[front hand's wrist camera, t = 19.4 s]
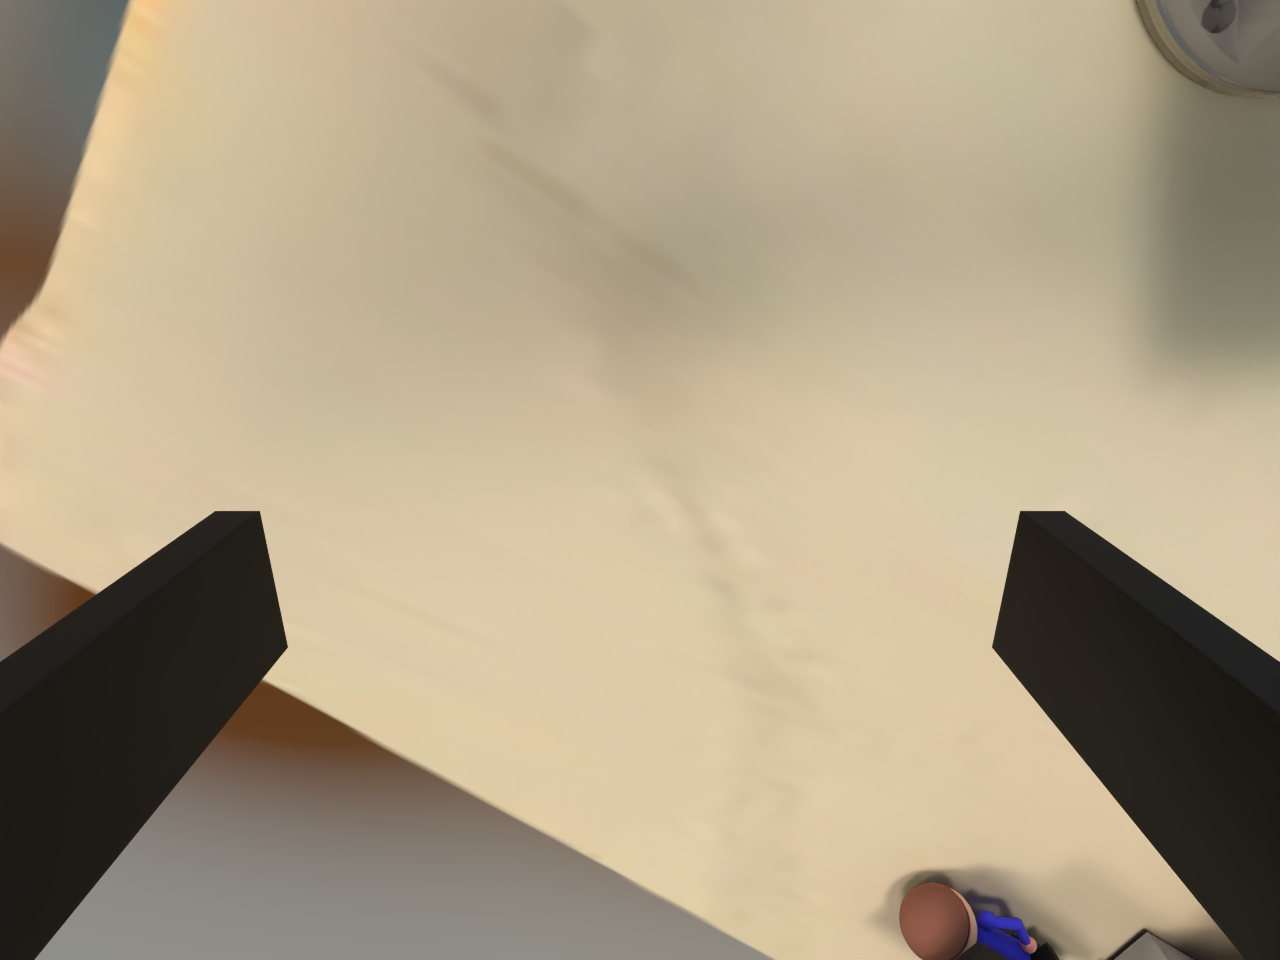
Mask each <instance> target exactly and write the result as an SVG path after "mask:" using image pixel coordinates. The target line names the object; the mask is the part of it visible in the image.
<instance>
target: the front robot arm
mask: <svg viewBox="0 0 1280 960" xmlns="http://www.w3.org/2000/svg"><path fill="white" fill-rule="evenodd" d="M1136 1H1137V5H1138V8H1139V11H1140V13H1141V16H1142V19H1143V21H1144V24H1145V26H1146V28H1147V30H1148V32H1149V34H1150V36H1151V37H1152V39H1153V41H1154V42H1155V44H1156V46H1157V47H1158V49H1159V50H1160V51H1161V52H1162V54H1163V55H1164V56H1165V57H1166V59H1167V60H1168V61H1169V62H1170V63H1171V64H1172V65H1173V66H1174V67H1175V68H1177V69H1178V70H1179V71H1180V72H1181V73H1183V74H1184V75H1185V76H1187V77H1188V78H1189V79H1191V80H1193V81H1194V82H1196V83H1198V84H1200V85H1202V86H1203V87H1206V88H1208V89H1211V90H1213V91H1216V92H1219V93H1223V94H1227V95H1231V96H1237V97H1244V98H1271V97H1280V0H1136ZM287 648H288V646H287V641H286V636H285V631H284V626H283V621H282V617H281V612H280V607H279V602H278V597H277V592H276V587H275V583H274V578H273V573H272V568H271V563H270V558H269V554H268V549H267V544H266V539H265V534H264V529H263V524H262V520H261V515H260V511H215V512H214V513H212V514H211V515H209V516H208V517H206V518H205V519H204V520H202V521H201V522H199V523H198V524H196V525H195V526H194V527H192V528H191V529H189V530H188V531H186V532H185V533H184V534H182V535H181V536H179V537H178V538H176V539H175V540H174V541H172V542H171V543H169V544H168V545H166V546H165V547H164V548H162V549H161V550H159V551H158V552H156V553H155V554H154V555H152V556H151V557H149V558H148V559H147V560H145V561H144V562H142V563H141V564H139V565H138V566H137V567H135V568H134V569H132V570H131V571H129V572H128V573H127V574H125V575H124V576H122V577H121V578H119V579H118V580H117V581H115V582H114V583H112V584H111V585H109V586H108V587H107V588H105V589H104V590H102V591H101V592H99V593H98V594H97V595H95V596H94V597H92V598H91V599H90V600H88V601H87V602H85V603H84V604H82V605H81V606H80V607H78V608H77V609H75V610H74V611H72V612H71V613H70V614H68V615H67V616H65V617H64V618H62V619H61V620H60V621H58V622H57V623H55V624H54V625H53V626H51V627H50V628H48V629H47V630H45V631H44V632H43V633H41V634H40V635H38V636H37V637H35V638H34V639H32V640H31V641H30V642H28V643H27V644H25V645H24V646H22V647H21V648H20V649H18V650H17V651H15V652H14V653H13V654H11V655H10V656H8V657H7V658H5V659H4V660H3V661H1V662H0V960H34V959H35V958H36V957H37V956H38V955H39V953H40V952H41V951H42V950H43V948H44V947H45V946H46V945H47V943H48V942H49V941H50V940H51V939H52V937H53V936H54V935H55V934H56V932H57V931H58V930H59V929H60V927H61V926H62V925H63V924H64V923H65V921H66V920H67V919H68V918H69V916H70V915H71V914H72V913H73V911H74V910H75V909H76V908H77V906H78V905H79V904H80V903H81V902H82V900H83V899H84V898H85V897H86V895H87V894H88V893H89V892H90V890H91V889H92V888H93V887H94V886H95V884H96V883H97V882H98V881H99V879H100V878H101V877H102V876H103V874H104V873H105V872H106V871H107V870H108V868H109V867H110V866H111V865H112V863H113V862H114V861H115V860H116V858H117V857H118V856H119V855H120V854H121V852H122V851H123V850H124V849H125V847H126V846H127V845H128V844H129V842H130V841H131V840H132V839H133V837H134V836H135V835H136V834H137V833H138V831H139V830H140V829H141V828H142V826H143V825H144V824H145V823H146V821H147V820H148V819H149V818H150V817H151V815H152V814H153V813H154V812H155V810H156V809H157V808H158V807H159V805H160V804H161V803H162V802H163V801H164V799H165V798H166V797H167V796H168V794H169V793H170V792H171V791H172V789H173V788H174V787H175V786H176V784H177V783H178V782H179V781H180V780H181V778H182V777H183V776H184V775H185V773H186V772H187V771H188V770H189V768H190V767H191V766H192V765H193V763H194V762H195V761H196V760H197V759H198V757H199V756H200V755H201V754H202V752H203V751H204V750H205V749H206V747H207V746H208V745H209V744H210V743H211V741H212V740H213V739H214V738H215V736H216V735H217V734H218V733H219V732H220V730H221V729H222V728H223V727H224V725H225V724H226V723H227V722H228V720H229V719H230V718H231V717H232V715H233V714H234V713H235V712H236V711H237V709H238V708H239V707H240V706H241V704H242V703H243V702H244V701H245V699H246V698H247V697H248V696H249V695H250V693H251V692H252V691H253V690H254V688H255V687H256V686H257V685H258V683H259V682H260V681H261V680H262V679H263V677H264V676H265V675H266V674H267V672H268V671H269V670H270V669H271V667H272V666H273V665H274V664H275V663H276V661H277V660H278V659H279V658H280V656H281V655H282V654H283V653H284V651H285V650H286V649H287ZM992 648H993V649H994V650H995V651H996V653H997V654H998V655H999V656H1000V658H1001V659H1002V660H1003V661H1004V663H1005V664H1006V665H1007V666H1008V667H1009V669H1010V670H1011V671H1012V672H1013V674H1014V675H1015V676H1016V677H1017V679H1018V680H1019V681H1020V682H1021V683H1022V685H1023V686H1024V687H1025V688H1026V690H1027V691H1028V692H1029V693H1030V695H1031V696H1032V697H1033V698H1034V699H1035V701H1036V702H1037V703H1038V704H1039V706H1040V707H1041V708H1042V709H1043V711H1044V712H1045V713H1046V714H1047V716H1048V717H1049V718H1050V719H1051V720H1052V722H1053V723H1054V724H1055V725H1056V727H1057V728H1058V729H1059V730H1060V732H1061V733H1062V734H1063V735H1064V736H1065V738H1066V739H1067V740H1068V741H1069V743H1070V744H1071V745H1072V746H1073V748H1074V749H1075V750H1076V751H1077V752H1078V754H1079V755H1080V756H1081V757H1082V759H1083V760H1084V761H1085V762H1086V764H1087V765H1088V766H1089V767H1090V768H1091V770H1092V771H1093V772H1094V773H1095V775H1096V776H1097V777H1098V778H1099V780H1100V781H1101V782H1102V783H1103V785H1104V786H1105V787H1106V788H1107V789H1108V791H1109V792H1110V793H1111V794H1112V796H1113V797H1114V798H1115V799H1116V801H1117V802H1118V803H1119V804H1120V805H1121V807H1122V808H1123V809H1124V810H1125V812H1126V813H1127V814H1128V815H1129V817H1130V818H1131V819H1132V820H1133V821H1134V823H1135V824H1136V825H1137V826H1138V828H1139V829H1140V830H1141V831H1142V833H1143V834H1144V835H1145V836H1146V838H1147V839H1148V840H1149V841H1150V842H1151V844H1152V845H1153V846H1154V847H1155V849H1156V850H1157V851H1158V852H1159V854H1160V855H1161V856H1162V857H1163V858H1164V860H1165V861H1166V862H1167V863H1168V865H1169V866H1170V867H1171V868H1172V870H1173V871H1174V872H1175V873H1176V874H1177V876H1178V877H1179V878H1180V879H1181V881H1182V882H1183V883H1184V884H1185V886H1186V887H1187V888H1188V889H1189V890H1190V892H1191V893H1192V894H1193V895H1194V897H1195V898H1196V899H1197V900H1198V902H1199V903H1200V904H1201V905H1202V907H1203V908H1204V909H1205V910H1206V911H1207V913H1208V914H1209V915H1210V916H1211V918H1212V919H1213V920H1214V921H1215V923H1216V924H1217V925H1218V926H1219V927H1220V929H1221V930H1222V931H1223V932H1224V934H1225V935H1226V936H1227V937H1228V939H1229V940H1230V941H1231V942H1232V943H1233V945H1234V946H1235V947H1236V948H1237V950H1238V951H1239V952H1240V953H1241V955H1242V956H1243V957H1244V958H1245V959H1246V960H1280V662H1279V661H1277V660H1276V659H1275V658H1273V657H1272V656H1270V655H1269V654H1268V653H1266V652H1265V651H1263V650H1262V649H1260V648H1259V647H1258V646H1256V645H1255V644H1253V643H1252V642H1250V641H1249V640H1248V639H1246V638H1245V637H1243V636H1242V635H1240V634H1239V633H1238V632H1236V631H1235V630H1233V629H1232V628H1230V627H1229V626H1228V625H1226V624H1225V623H1223V622H1222V621H1220V620H1219V619H1218V618H1216V617H1215V616H1213V615H1212V614H1210V613H1209V612H1208V611H1206V610H1205V609H1203V608H1202V607H1200V606H1199V605H1198V604H1196V603H1195V602H1193V601H1192V600H1191V599H1189V598H1188V597H1186V596H1185V595H1183V594H1182V593H1181V592H1179V591H1178V590H1176V589H1175V588H1173V587H1172V586H1171V585H1169V584H1168V583H1166V582H1165V581H1163V580H1162V579H1161V578H1159V577H1158V576H1156V575H1155V574H1153V573H1152V572H1151V571H1149V570H1148V569H1146V568H1145V567H1143V566H1142V565H1141V564H1139V563H1138V562H1136V561H1135V560H1133V559H1132V558H1131V557H1129V556H1128V555H1126V554H1125V553H1124V552H1122V551H1121V550H1119V549H1118V548H1116V547H1115V546H1114V545H1112V544H1111V543H1109V542H1108V541H1106V540H1105V539H1104V538H1102V537H1101V536H1099V535H1098V534H1096V533H1095V532H1094V531H1092V530H1091V529H1089V528H1088V527H1086V526H1085V525H1084V524H1082V523H1081V522H1079V521H1078V520H1076V519H1075V518H1074V517H1072V516H1071V515H1069V514H1068V513H1066V512H1065V511H1020V515H1019V520H1018V524H1017V529H1016V534H1015V539H1014V544H1013V549H1012V554H1011V558H1010V563H1009V568H1008V573H1007V578H1006V583H1005V587H1004V592H1003V597H1002V602H1001V607H1000V612H999V617H998V621H997V626H996V631H995V636H994V641H993V646H992Z"/></svg>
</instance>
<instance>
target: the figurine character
mask: <svg viewBox="0 0 1280 960" xmlns="http://www.w3.org/2000/svg"><path fill="white" fill-rule="evenodd" d="M899 919H900V927H901V931H902V934H903V936H904V939H905V941H906V942H907V944H908V946H909V947H910V948H911V950H912V951H913V952H914V953H915V954H916V955H917V956H918V957H920V958H921V959H922V960H1059V958H1058V957H1057V955H1056V953H1055V952H1054V950H1053V948H1052V947H1051V946H1050V945H1049V944H1047V943H1044V944H1043V945H1042V946H1041V944H1040V943H1038V942H1036V941H1035V940H1034V939H1033V938H1032V937H1030V936H1028V934H1027V932H1026V930H1025V928H1024V925H1023V923H1022V921H1021V920H1020V919H1018V918H1009V917H998V916H994V915H993V914H992V913H991V912H990V911H983V912H981V913H980V914H979V916H978V919H977V918H975V916H974V914H973V911H972V909H971V907H970V906H969V904H968V903H967V901H966V900H965V899H964V898H963V897H962V896H961V895H960V894H959V893H958V892H957V891H955V890H954V889H952V888H950V887H949V886H946V885H944V884H940V883H934V882H929V883H923V884H920V885H918V886H916V887H914V888H913V889H911V890H910V891H909V892H908V893H907V895H906V896H905V898H904V899H903V902H902V904H901V908H900V915H899ZM999 929H1007V930H1015V931H1016V933H1013V934H1012V936H1010V935H1008V934H1006V933H1004V932H1002V931H1001V930H999ZM1030 953H1031V954H1030Z"/></svg>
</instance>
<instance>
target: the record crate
mask: <svg viewBox="0 0 1280 960" xmlns="http://www.w3.org/2000/svg"><path fill="white" fill-rule="evenodd" d="M1114 960H1193V959H1192V958H1190V957H1188V956H1187V955H1185V954H1183V953H1182V952H1180V951H1178V950H1177V949H1175V948H1173V947H1172V946H1170V945H1168V944H1167V943H1165V942H1163V941H1162V940H1160V939H1158V938H1157V937H1155V936H1153V935H1151V934H1150V933H1148V932H1146V933H1145V934H1144V935H1143V936H1142V937H1140V938H1139V939H1138V940H1137V941H1136V942H1134V943H1133V944H1132V945H1131V946H1130V947H1128V948H1127V949H1126V950H1125V951H1124V952H1122V953H1121V954H1120V955H1119V956H1118V957H1116V958H1115V959H1114Z"/></svg>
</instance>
